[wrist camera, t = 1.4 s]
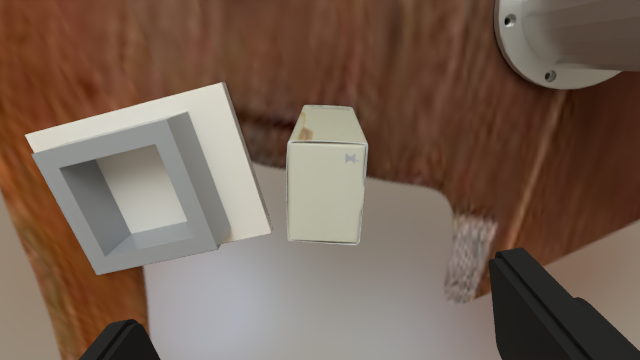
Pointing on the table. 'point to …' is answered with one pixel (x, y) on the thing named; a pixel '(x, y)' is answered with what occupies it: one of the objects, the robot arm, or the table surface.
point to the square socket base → (154, 179)
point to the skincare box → (326, 176)
